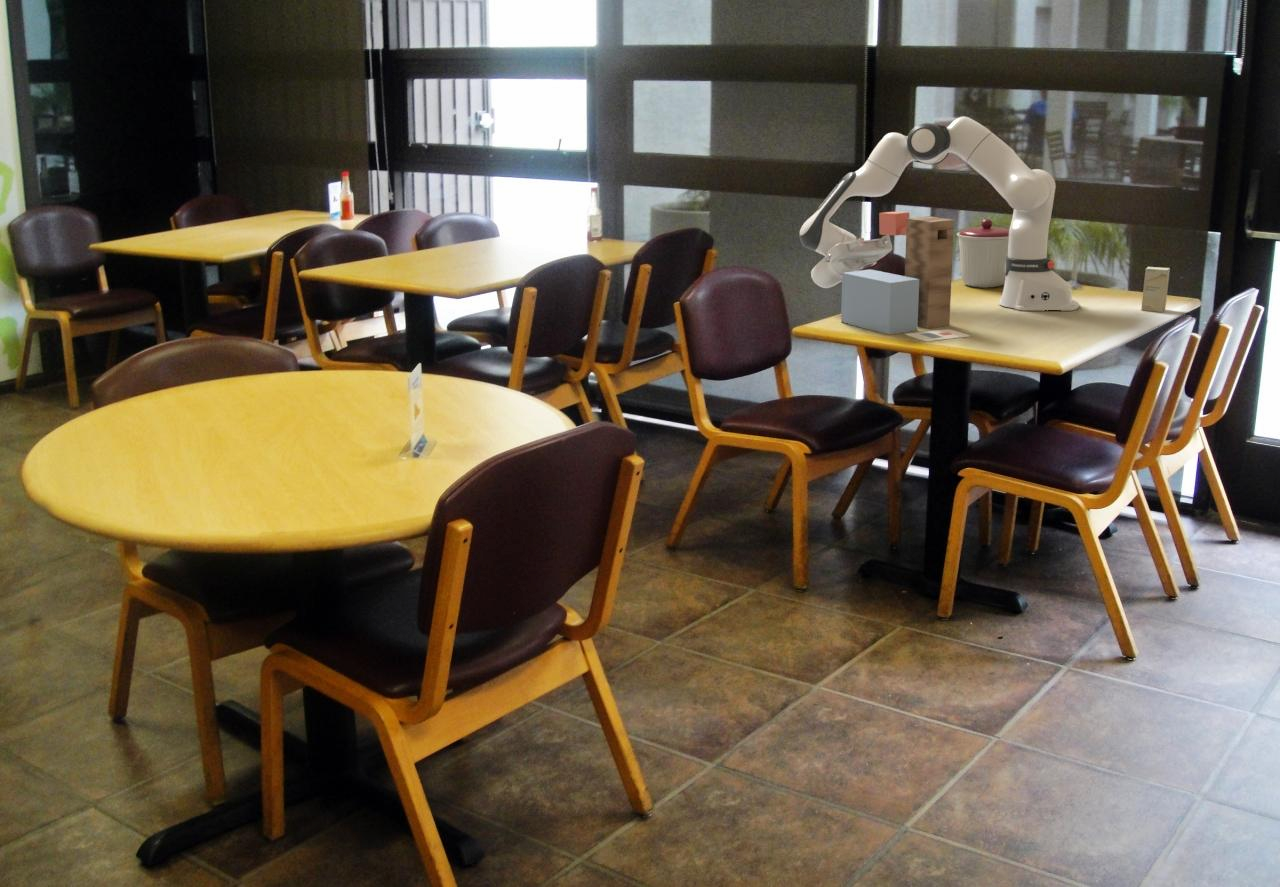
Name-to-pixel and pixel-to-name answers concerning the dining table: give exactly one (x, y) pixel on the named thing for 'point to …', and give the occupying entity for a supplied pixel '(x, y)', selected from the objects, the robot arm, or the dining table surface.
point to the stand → (931, 267)
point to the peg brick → (893, 223)
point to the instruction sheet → (937, 335)
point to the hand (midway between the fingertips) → (875, 239)
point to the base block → (880, 301)
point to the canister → (983, 255)
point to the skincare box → (1155, 289)
